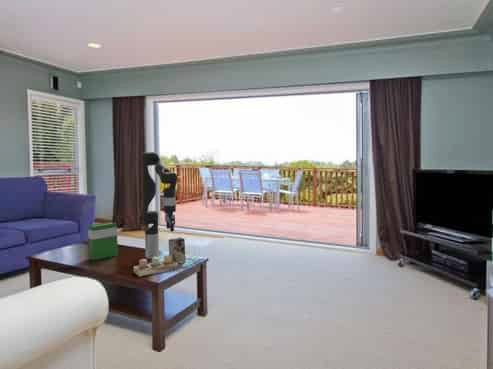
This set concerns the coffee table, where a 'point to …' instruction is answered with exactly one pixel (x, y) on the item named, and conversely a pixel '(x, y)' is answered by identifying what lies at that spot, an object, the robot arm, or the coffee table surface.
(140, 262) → the button terracotta
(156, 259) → the button sage
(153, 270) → the button board
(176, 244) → the coffee box
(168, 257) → the button ochre
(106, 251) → the green banded box
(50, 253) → the coffee table surface
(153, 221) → the robot arm
